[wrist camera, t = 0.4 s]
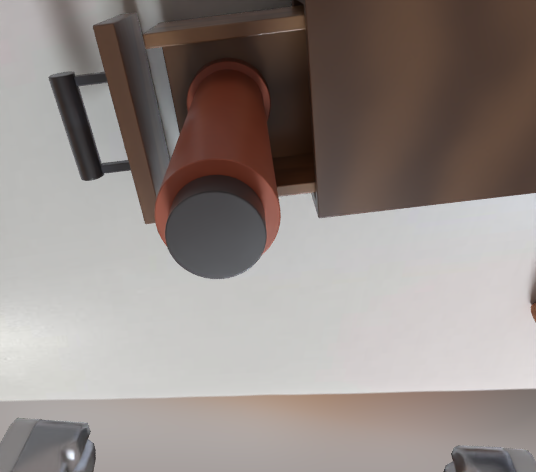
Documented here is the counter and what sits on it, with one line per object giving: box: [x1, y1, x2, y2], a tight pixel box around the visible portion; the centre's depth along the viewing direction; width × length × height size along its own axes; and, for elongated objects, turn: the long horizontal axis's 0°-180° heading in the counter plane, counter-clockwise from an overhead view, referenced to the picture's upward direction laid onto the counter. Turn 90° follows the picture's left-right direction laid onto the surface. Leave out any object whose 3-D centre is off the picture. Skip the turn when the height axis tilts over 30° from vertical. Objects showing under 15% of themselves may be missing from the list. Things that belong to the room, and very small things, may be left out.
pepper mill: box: [154, 58, 281, 279], centre depth 26 cm, size 6×6×20 cm
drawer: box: [49, 5, 316, 224], centre depth 32 cm, size 19×12×7 cm, turn 96°
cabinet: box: [291, 0, 536, 218], centre depth 32 cm, size 16×14×9 cm
